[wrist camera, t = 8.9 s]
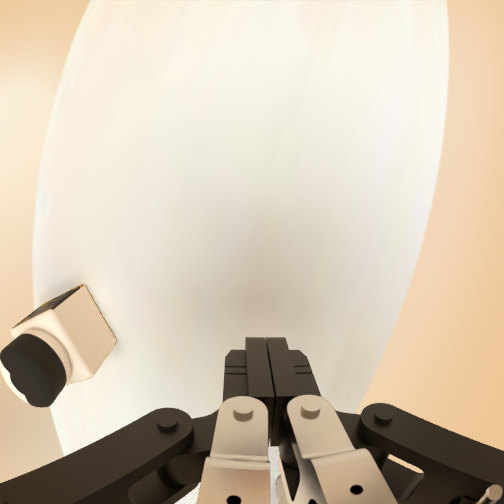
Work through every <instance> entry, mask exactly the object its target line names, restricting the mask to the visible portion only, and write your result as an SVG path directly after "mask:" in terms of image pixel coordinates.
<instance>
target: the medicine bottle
mask: <svg viewBox="0 0 504 504" xmlns="http://www.w3.org/2000/svg"><path fill="white" fill-rule="evenodd" d="M11 335H12V336H13V338H14V340H13V341H12V342H11V343H10V344H9V345H8V346H6V347H5V348H4V349H3V350H2V351H1V353H0V369H1V373H2V375H3V377H4V379H5V381H6V383H7V384H8V386H9V387H10V388H11V390H12V391H13V392H14V393H15V394H16V395H17V396H18V397H19V398H21V399H22V400H23V401H25V402H27V403H28V404H30V405H32V406H35V407H48V406H50V405H51V404H52V403H53V402H54V400H55V399H56V398H57V396H58V395H59V393H60V392H61V391H62V389H63V388H64V386H65V385H68V384H72V383H76V382H79V381H83V380H87V379H90V378H92V377H94V375H95V373H96V372H97V370H98V369H99V367H100V366H101V364H102V363H103V361H104V360H105V358H106V357H107V355H108V354H109V352H110V351H111V349H112V348H113V346H114V345H115V343H116V338H115V337H114V335H113V334H112V332H111V330H110V329H109V327H108V325H107V324H106V322H105V320H104V318H103V317H102V315H101V313H100V311H99V310H98V308H97V306H96V304H95V302H94V301H93V299H92V297H91V295H90V293H89V291H88V289H87V288H86V286H85V285H84V284H83V285H80V286H78V287H76V288H74V289H72V290H70V291H68V292H66V293H64V294H62V295H60V296H58V297H56V298H54V299H52V300H50V301H48V302H46V303H45V304H43V305H42V306H40V307H39V308H38V309H36V310H35V311H34V312H32V313H31V314H30V315H28V316H27V317H26V318H24V319H23V320H22V321H21V322H20V323H18V324H17V325H16V326H14V327H13V328H12V329H11Z"/></svg>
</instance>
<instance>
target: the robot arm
mask: <svg viewBox="0 0 504 504" xmlns="http://www.w3.org/2000/svg"><path fill="white" fill-rule="evenodd" d="M269 439H270V446H279V452H280V455H279V461H278V465H279V469H280V473H281V476H280V477H279V478H278V480H277V483H276V485H277V492H278V500H279V504H504V451H502V450H500V449H497V448H494V447H491V446H488V445H486V444H483V443H480V442H477V441H475V440H472V439H470V438H467V437H465V436H462V435H460V434H457V433H454V432H452V431H449V430H447V429H445V428H442V427H440V426H438V425H435V424H433V423H431V422H428V421H426V420H424V419H421V418H419V417H417V416H415V415H412V414H410V413H408V412H406V411H403V410H401V409H399V408H397V407H394V406H392V405H389V404H385V403H376V404H371V405H369V406H367V407H365V408H364V409H363V411H362V413H361V415H359V414H349V413H342V412H339V411H336V410H334V408H333V406H332V404H331V403H330V402H329V401H328V400H326V399H324V398H322V397H321V395H320V392H319V389H318V386H317V384H316V381H315V378H314V375H313V374H312V370H311V367H310V364H309V361H308V359H307V357H306V356H305V355H304V354H303V353H302V352H301V351H300V350H289V349H288V345H287V342H286V338H285V337H278V338H270V337H266V339H265V338H259V337H246V339H245V350H231V351H230V352H229V353H228V355H227V356H226V357H225V372H224V389H223V402H222V404H221V405H220V407H219V409H218V410H217V411H216V412H214V413H213V414H211V415H208V416H205V417H200V418H194V419H191V417H190V416H189V415H188V414H187V413H186V412H184V411H182V410H179V409H176V408H161V409H157V410H154V411H152V412H150V413H148V414H147V415H145V416H143V417H141V418H139V419H138V420H136V421H134V422H132V423H130V424H128V425H127V426H125V427H123V428H121V429H119V430H117V431H115V432H113V433H112V434H110V435H108V436H106V437H104V438H102V439H100V440H98V441H96V442H94V443H92V444H90V445H88V446H86V447H84V448H82V449H80V450H78V451H75V452H73V453H71V454H69V455H67V456H65V457H63V458H61V459H58V460H56V461H54V462H52V463H49V464H47V465H45V466H42V467H40V468H38V469H35V470H33V471H31V472H28V473H26V474H24V475H21V476H18V477H16V478H13V479H11V480H8V481H5V482H3V483H0V504H174V503H176V502H177V501H179V500H180V499H181V498H183V497H184V496H185V495H187V494H188V493H189V492H191V491H192V490H193V489H194V488H195V487H197V485H198V484H199V482H201V484H200V489H199V494H198V499H197V504H270V461H268V447H269ZM389 454H391V455H393V456H395V457H397V458H399V459H401V460H403V461H405V462H407V463H409V464H412V465H414V466H416V467H418V468H420V469H421V470H422V471H423V472H424V473H417V472H415V471H413V470H411V469H409V468H406V467H404V466H402V465H400V464H398V463H396V462H394V461H392V460H390V459H388V456H389Z"/></svg>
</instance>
